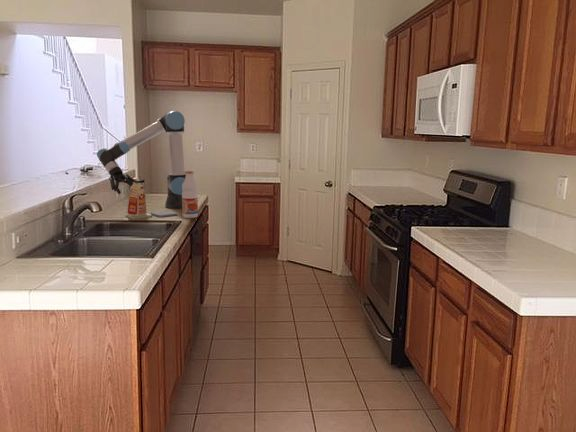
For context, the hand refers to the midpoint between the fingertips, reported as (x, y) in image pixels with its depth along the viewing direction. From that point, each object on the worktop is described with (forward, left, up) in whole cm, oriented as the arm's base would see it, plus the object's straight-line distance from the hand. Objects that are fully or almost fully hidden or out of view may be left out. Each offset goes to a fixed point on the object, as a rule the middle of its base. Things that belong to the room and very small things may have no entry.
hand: (132, 196), depth 297 cm
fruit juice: (-27, +23, -12) cm, 37 cm away
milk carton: (-1, +4, -11) cm, 12 cm away
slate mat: (-17, +8, -12) cm, 22 cm away
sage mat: (-2, +4, -12) cm, 13 cm away
